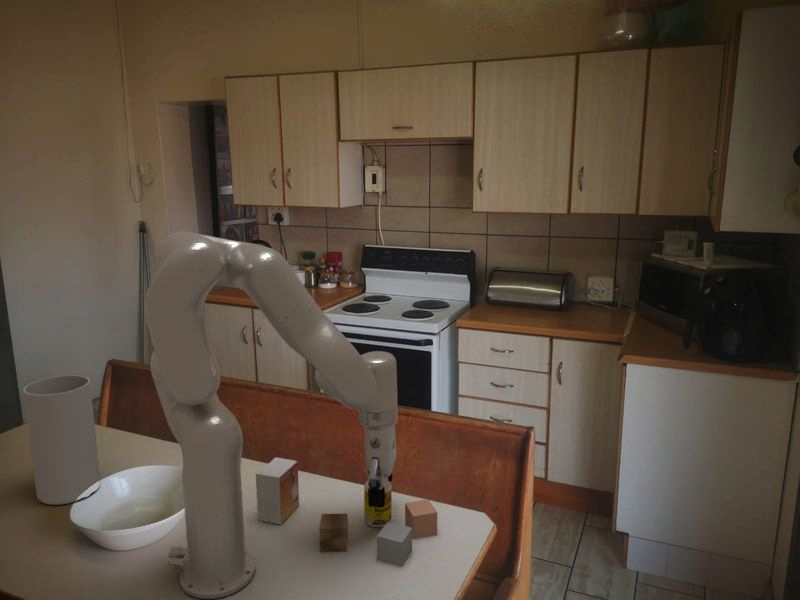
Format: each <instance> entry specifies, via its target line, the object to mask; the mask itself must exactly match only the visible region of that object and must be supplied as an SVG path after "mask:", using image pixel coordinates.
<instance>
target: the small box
mask: <svg viewBox="0 0 800 600" xmlns="http://www.w3.org/2000/svg"><path fill="white" fill-rule="evenodd" d="M255 486H256V487H255V489H256V490H255V491H256V510H257V511H256V512H257V520H258V521H261V522H266V523H270V524H276V525H281V526H282V524H283V523H284V522H285V521H286V520H287V519H288V518H289V517H290V515H292V514H293V513H294V511H296V510H297V509H298V508H299V506H300V500H299V499H300V498H299V497H300V495H299V487H300V486H299V462H298V461H297V460H294V459H287V458H282V457H278V456H277V457H274V458H273V459H272V460H271V461H270V462H269V463H267V464H266V465H265V466H264V467H263V468H261V469H260V470H258V471H257V472H256V473H255Z"/></svg>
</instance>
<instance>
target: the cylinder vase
mask: <svg viewBox="0 0 800 600" xmlns="http://www.w3.org/2000/svg"><path fill="white" fill-rule="evenodd" d="M91 388H92V387H91V380H90V378H88V377H87V376H83V375H75V374H74V375H72V374H71V375H60V376H59V375H57V376H52V377H51V376H50V377H47V378H43V379H39V380H36V381H33V382H31V383H29V384H27V385H25V386H24V387H23V388H22V391H23V392H22V393H23V398H24V399H23V400H24V406H25V409H24V410H25V416H26V421H27V430H28V439H29V446H30V453H31V454H30V455H31V459H32V462H31V463H32V468H33V477H34V485H35V492H36V498H37V499H38V501H39V502H41V503H43V504H46V505H53V506H55V505H56V506H58V505H66V504H71V503H75V502H74V501H75V500H76V499H77V497H78V496H79V495H80V494H82V493H83V492H84V491H85V490H87V489H88V488H89V487H90V486H92V485H93V484H95V483H96V482H98V481H99V480H100V481H101V475H100V474H101V473H100V463H99V455H98V445H97V436H96V435H97V434H96V428H95V427H96V425H95V417H94V408H93V407H94V405H93V397H92V389H91Z"/></svg>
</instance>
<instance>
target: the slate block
mask: <svg viewBox="0 0 800 600" xmlns="http://www.w3.org/2000/svg"><path fill="white" fill-rule="evenodd" d="M412 553H413V538H412V528H411V527H406V526H405V525H402V524H397V523H393V522H391V521H390V522H387V524H386V525H385V526H383V527H382V528H381V530H380V531H379V532H378V534H377V535H376V561H378V562H381V563H382V562H383V563H386V564H389V565H394V566H397V567H400V568H402V567H403V566H404V565H405V563H406V561H407V560H408V558H409V557H410V555H411V554H412Z"/></svg>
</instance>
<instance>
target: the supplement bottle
mask: <svg viewBox="0 0 800 600" xmlns="http://www.w3.org/2000/svg"><path fill="white" fill-rule="evenodd" d="M378 472H382V471H378ZM377 480H379V482H380V477H377ZM368 483H369V475H368V474H367V481H366V482H365V483H364V486H363V487H364V488H363V491H364V493H363V496H364V501H363V503H364V505H363V508H364V511H363V512H364V513H363V514H364V516H363V517H364V522H365V524H366V525H368V526H370V527H372V528H373V527H374V528H384V526H385V525H386V524H387V522H390V523H391V520H392V501H393V500H392V496H393V495H392V494H393V493H392V491H393V490H392V483H391V482H389V481H388V476H384V481H383V487H385V506H384V507H370V506H369V503H368Z"/></svg>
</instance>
